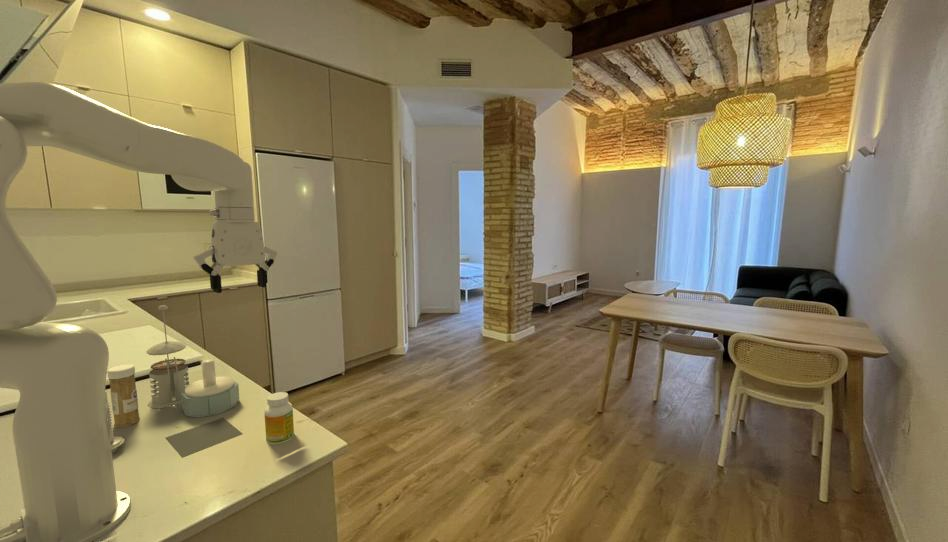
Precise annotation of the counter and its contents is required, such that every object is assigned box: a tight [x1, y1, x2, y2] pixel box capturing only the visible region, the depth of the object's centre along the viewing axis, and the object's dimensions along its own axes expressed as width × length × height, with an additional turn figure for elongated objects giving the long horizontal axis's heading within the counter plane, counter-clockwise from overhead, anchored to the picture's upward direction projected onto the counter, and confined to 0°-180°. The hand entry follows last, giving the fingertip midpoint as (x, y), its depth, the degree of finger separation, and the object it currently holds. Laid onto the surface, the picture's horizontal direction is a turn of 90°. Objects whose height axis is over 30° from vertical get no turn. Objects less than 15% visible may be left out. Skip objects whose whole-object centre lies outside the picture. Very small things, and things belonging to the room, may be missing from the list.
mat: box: [165, 417, 244, 458], centre depth 84 cm, size 11×11×1 cm
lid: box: [185, 358, 235, 398], centre depth 96 cm, size 10×10×7 cm
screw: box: [105, 391, 125, 454], centre depth 77 cm, size 13×5×5 cm
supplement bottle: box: [264, 391, 295, 445], centre depth 83 cm, size 5×5×10 cm
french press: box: [145, 304, 190, 409], centre depth 99 cm, size 10×12×25 cm
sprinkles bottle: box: [107, 364, 141, 428], centre depth 88 cm, size 5×5×13 cm
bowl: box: [181, 380, 240, 418], centre depth 97 cm, size 11×11×5 cm
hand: (240, 289), depth 92 cm, fingers open, 9 cm apart
